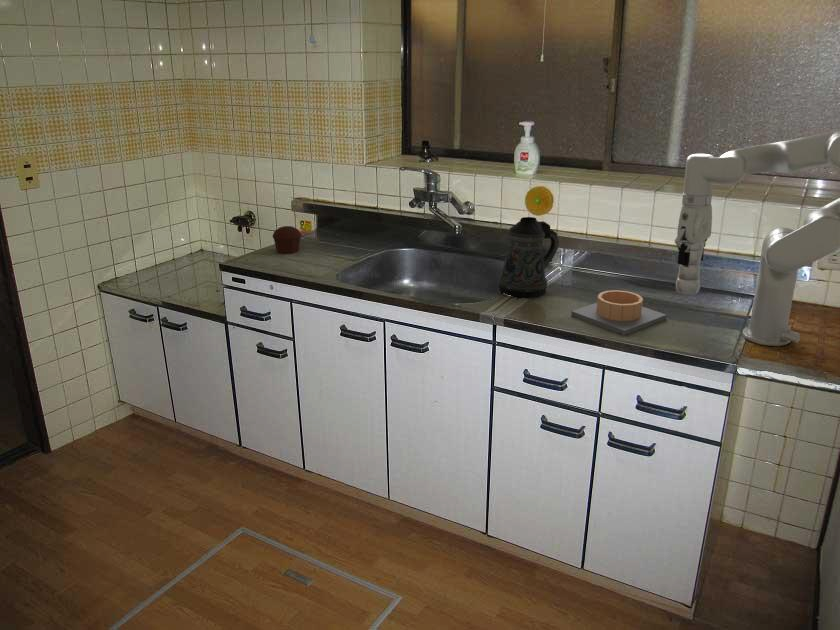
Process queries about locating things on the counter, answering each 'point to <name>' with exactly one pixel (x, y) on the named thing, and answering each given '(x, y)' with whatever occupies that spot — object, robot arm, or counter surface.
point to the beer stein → (527, 259)
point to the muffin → (287, 240)
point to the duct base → (619, 325)
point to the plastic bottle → (690, 271)
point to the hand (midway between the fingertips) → (690, 261)
